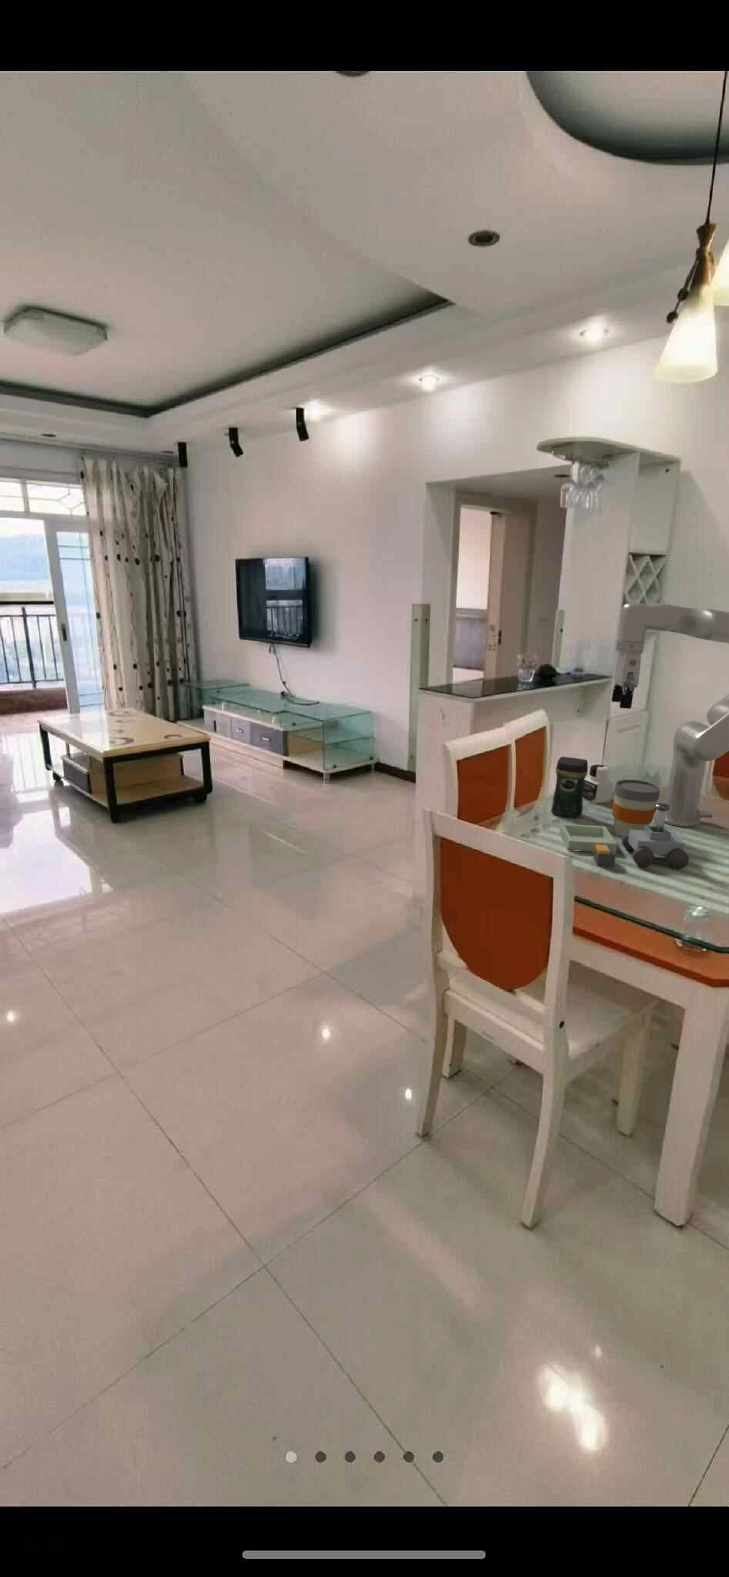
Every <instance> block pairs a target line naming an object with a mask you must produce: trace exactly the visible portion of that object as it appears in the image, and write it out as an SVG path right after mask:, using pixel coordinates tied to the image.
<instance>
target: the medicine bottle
mask: <svg viewBox="0 0 729 1577" xmlns="http://www.w3.org/2000/svg"><path fill="white" fill-rule="evenodd" d="M609 773H610V768H609V767H608V766H606V765H603V764H592V765H591V766H590V767H589V773H588V777H585V779H584V786H583V798H584V799H583V800H585V801H587V802H589V803H591V804H593V805H595V804H596V805H597V804H602V803H608V802H609V803H610V801H611V797H612V791H613V785H614V782H613V781H611V780H609V779H608V778H609Z"/></svg>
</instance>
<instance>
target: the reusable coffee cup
mask: <svg viewBox="0 0 729 1577" xmlns="http://www.w3.org/2000/svg"><path fill="white" fill-rule="evenodd" d="M660 788H661V787H659V786H658V785H656V784H654V783H652V782H648V781H644V780H638V779H621V780H617V781H616V782H615V787H614V789H613V793H614V799H613V800H612V817H613V833H614V834H615V835H617V836H620V837H621V838H622V837H623V836H624V835H625V834H626V833H628V832H629V831H630V830H644V829H645V825H647V826H650V824H652V822H653V821H654V818H655V814H656V808H655V804H656V803H658V801H659V799H660V791H661V790H660Z"/></svg>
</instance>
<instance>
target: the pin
mask: <svg viewBox="0 0 729 1577" xmlns="http://www.w3.org/2000/svg"><path fill="white" fill-rule="evenodd" d="M664 803H665V802H657V803H656V804H655V808H656V811H655V814H654V818H653V825H652V826H653V830H652V831H653V832H663V829H664V827H665V824H666V823H665V818H666V813H667V810H669V808H670V806H669V805H668V804H664Z"/></svg>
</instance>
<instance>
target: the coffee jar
mask: <svg viewBox="0 0 729 1577" xmlns="http://www.w3.org/2000/svg"><path fill="white" fill-rule="evenodd" d="M588 768H589V767H588V760H587V759H583V758H576V757H569V756H560V757H559V758H558V760H557V763H556V768H555V774H556V780H555V781H556V783H555V788H554V793H553V796H552V801H551V806H550V807H551V808H550V812H551V813H552V814H554V815H556V816H560V817H566V818H578V817H581V816H582V813H583V809H584V805H583V802H584V799H583V786H584V779H585V778H587V775H588Z"/></svg>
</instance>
